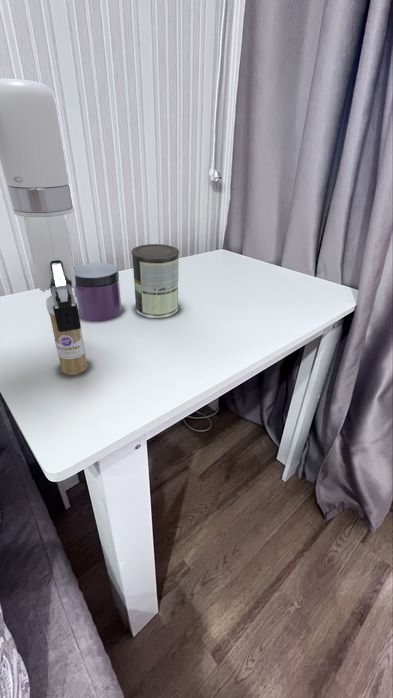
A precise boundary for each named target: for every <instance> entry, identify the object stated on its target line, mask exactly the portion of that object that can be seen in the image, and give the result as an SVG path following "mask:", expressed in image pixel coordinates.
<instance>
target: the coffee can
mask: <svg viewBox="0 0 393 698" xmlns="http://www.w3.org/2000/svg"><path fill="white" fill-rule="evenodd" d="M131 256H132V267H133V268H132V270H133V284H134V297H135V298H134V299H135V311H136V313H137V314H138V315H140V316H141V317H145V318H148V319H165V318H169V317H172V316H174V315H175V314H176V313H177V312H178V311H179V256H180V250H179V249H178V248H177V247H176V246H172V245H169V244H163V243H162V244H159V243H149V244H148V243H147V244H141V245H137V246H135V247H134V248H132V249H131Z"/></svg>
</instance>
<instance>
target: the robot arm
mask: <svg viewBox="0 0 393 698" xmlns="http://www.w3.org/2000/svg"><path fill="white" fill-rule="evenodd" d="M60 120H61V119H60V116H59V109H58V103H57V100H56V95H55V94H54V92H53V90H52V89H51V87H49V86H48V85H47V84H44V83H43V82H39V81H36V80H32V79H25V78H24V79H23V78H10V77H9V78H8V77H7V78H5V77H0V165H1V168H2V172H3V176H4V181H5V184H6V187H7V192H8V195H9V199H10V203H11V206H12V211H13V214H14V216H15V215H16V216H18V217H23V220H24V227H25V232H26V236H27V237H26V238H27V240H28V246H29V250H30V254H31V257H32V262H33V266H34V270H35V275H36V279H37V284H38V287H39V290H40V291H41V292H44V293H45V292H46V291H50V294H51V296H52V297H53V302H54V306H53V310H54V314H55V318H56V323H57V327H58V331H59V332H65V331H71V330H76V329H80V328H81V329H82V323H81V318H80V317H79V313H78V308H77V303H75V301H74V296H73V295H74V291H73V287H74V286H75V285H76V282H75V272H74V267H75V264H74V255H73V249H72V248H73V247H72V244H71V243H72V242H71V238H70V231H69V225H68V219H67V215H68V214H69V215H70V214H72V213H73V212H75V208H74V207H75V206H74V202H73V195H72V188H71V183H70V177H69V171H68V163H67V158H66V152H65V147H64V146H65V145H64V138H63V133H62V128H61V121H60ZM58 305H59V306H58Z"/></svg>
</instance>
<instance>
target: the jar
mask: <svg viewBox="0 0 393 698" xmlns="http://www.w3.org/2000/svg"><path fill="white" fill-rule="evenodd" d="M72 291H73V295H74V296H75V297H76V298H77V302H78V313H79V319H80V320H84V321H87V322H105V321H109V320H110V321H111V320H113V319H115V318H117V317H119V316H120V315H121V314H122V311H123V310H122V309H123V308H122V298H121V287H120V277H118V280H117V281H115V282H113V283H111V284H108V285H104V286H95V287H89V286H81V285H77V284H76V285H75V286H74V287H73V288H72Z"/></svg>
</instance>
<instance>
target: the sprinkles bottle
mask: <svg viewBox="0 0 393 698" xmlns="http://www.w3.org/2000/svg"><path fill="white" fill-rule="evenodd" d="M73 296H74V294H73ZM74 301H75V303H77V308H78V302H77V298H76V297H75V296H74ZM45 304H46V305H45V306H46V310H47V313H48V315H49V317H50V321H51V327H52V333H53V336H54V337H53V338H54V344H55V348H56V353H57V357H58V359H59V363H60V371H61V372H62V373H63V374H64V375H69V376H75V375H80V374H82V373H83V372H85V371H86V370H87V369H88V366H89V365H88V362H87V357H86V349H85V345H84V343H85V342H84V338H83V331H82V327H81V328H80V329H76V330H71V331H65V332H59V331H58V327H57V323H56V318H55V314H54V310H53V306H54V302H53V297H52V295H50V296H49V297H47V298H46V300H45ZM58 306H59V305H58Z"/></svg>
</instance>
